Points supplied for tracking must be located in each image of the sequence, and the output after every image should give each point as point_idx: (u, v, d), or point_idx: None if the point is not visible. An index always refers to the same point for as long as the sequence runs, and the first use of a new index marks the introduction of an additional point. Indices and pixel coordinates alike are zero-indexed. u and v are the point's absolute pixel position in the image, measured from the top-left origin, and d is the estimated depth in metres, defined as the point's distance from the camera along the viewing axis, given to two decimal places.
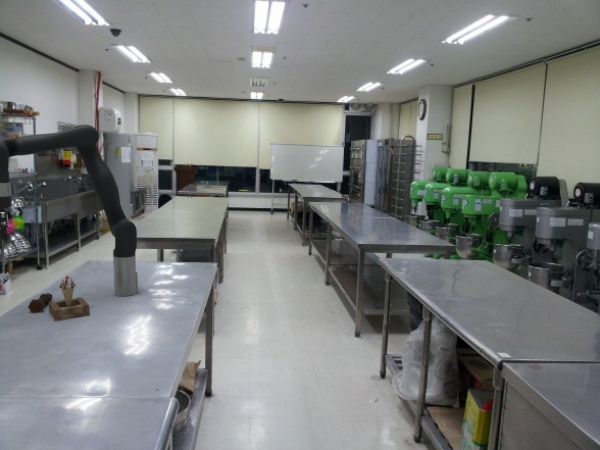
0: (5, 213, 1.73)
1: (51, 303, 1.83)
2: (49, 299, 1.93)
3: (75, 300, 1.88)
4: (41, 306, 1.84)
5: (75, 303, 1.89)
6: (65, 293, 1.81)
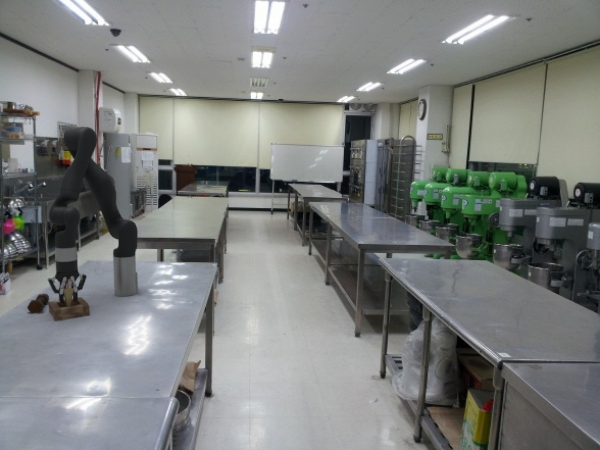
0: None
1: (51, 303, 1.83)
2: (46, 299, 1.93)
3: None
4: (41, 306, 1.84)
5: (75, 303, 1.89)
6: (65, 293, 1.81)
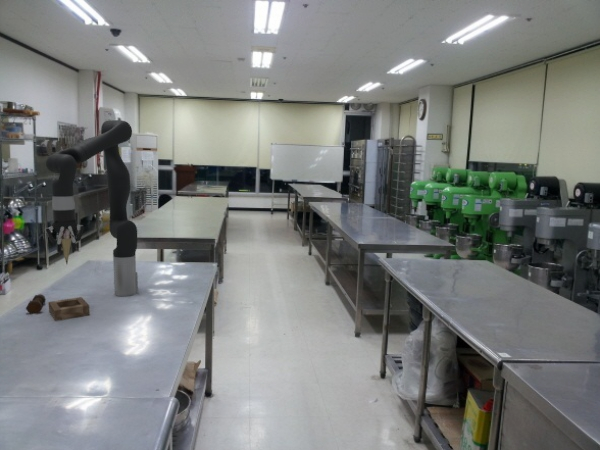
0: None
1: (51, 303, 1.83)
2: (43, 300, 1.92)
3: (75, 300, 1.88)
4: (40, 307, 1.83)
5: (75, 303, 1.89)
6: (63, 243, 1.78)
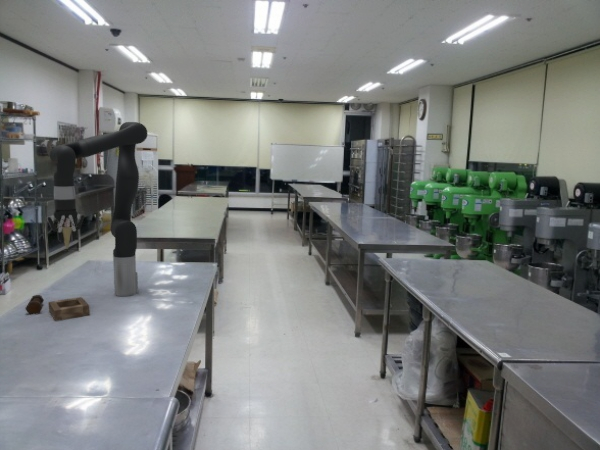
0: None
1: (51, 303, 1.83)
2: (41, 300, 1.91)
3: (75, 300, 1.88)
4: (39, 307, 1.83)
5: (75, 303, 1.89)
6: (64, 231, 1.85)
